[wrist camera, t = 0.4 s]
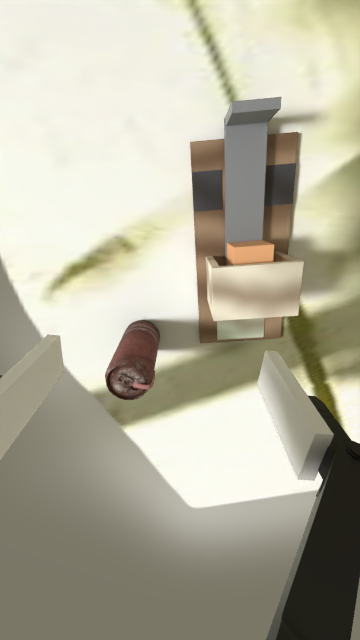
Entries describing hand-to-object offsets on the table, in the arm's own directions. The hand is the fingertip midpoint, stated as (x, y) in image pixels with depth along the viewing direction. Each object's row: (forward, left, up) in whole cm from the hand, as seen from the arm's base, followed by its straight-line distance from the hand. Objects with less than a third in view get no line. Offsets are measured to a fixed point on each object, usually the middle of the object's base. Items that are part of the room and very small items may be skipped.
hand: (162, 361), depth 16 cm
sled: (-9, +11, -25) cm, 29 cm away
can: (+11, -6, -27) cm, 30 cm away
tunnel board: (-2, +11, -27) cm, 29 cm away
